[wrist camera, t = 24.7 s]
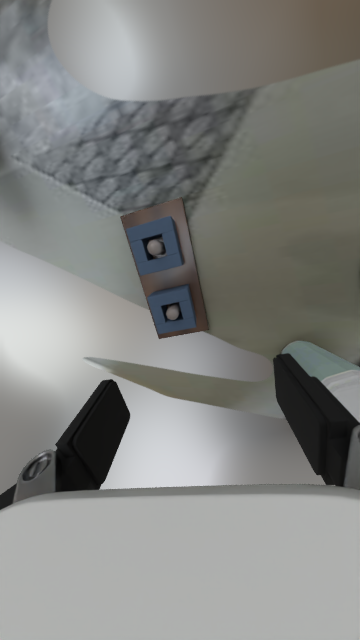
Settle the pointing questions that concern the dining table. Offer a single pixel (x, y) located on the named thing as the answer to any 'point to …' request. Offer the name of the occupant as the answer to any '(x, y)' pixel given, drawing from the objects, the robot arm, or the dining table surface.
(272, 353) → the dining table surface
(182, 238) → the wooden peg board
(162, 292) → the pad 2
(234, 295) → the dining table surface
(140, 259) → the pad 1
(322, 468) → the robot arm
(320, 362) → the disposable coffee cup
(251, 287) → the dining table surface
